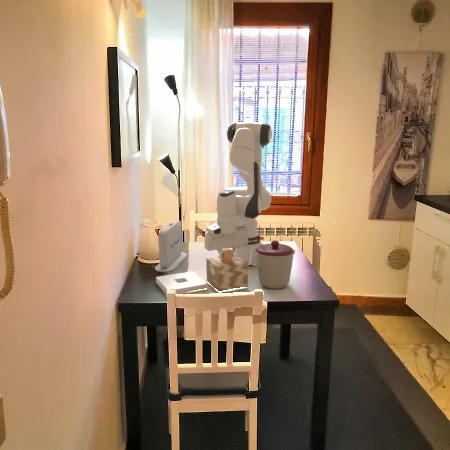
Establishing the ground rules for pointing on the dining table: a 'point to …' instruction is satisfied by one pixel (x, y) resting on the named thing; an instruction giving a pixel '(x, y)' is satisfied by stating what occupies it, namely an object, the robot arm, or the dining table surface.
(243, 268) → the notched wooden cube
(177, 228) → the wireless router
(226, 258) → the peg
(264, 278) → the canister
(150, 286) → the dining table surface
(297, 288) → the dining table surface
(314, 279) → the dining table surface
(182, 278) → the socket plate
